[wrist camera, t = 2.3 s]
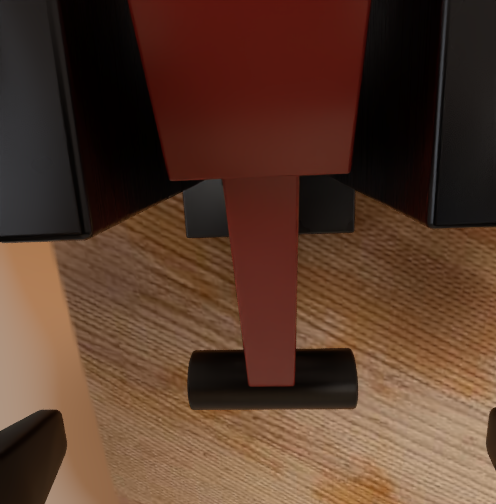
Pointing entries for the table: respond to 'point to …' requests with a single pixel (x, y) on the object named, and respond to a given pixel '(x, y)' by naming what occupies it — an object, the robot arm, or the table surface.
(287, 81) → the lever
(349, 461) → the table surface
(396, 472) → the table surface
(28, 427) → the robot arm
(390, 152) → the bracket
